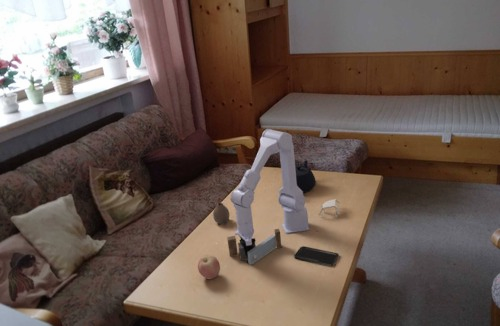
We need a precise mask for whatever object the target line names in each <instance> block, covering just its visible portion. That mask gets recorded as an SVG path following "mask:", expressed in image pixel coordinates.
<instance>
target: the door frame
mask: <svg viewBox="0 0 500 326" xmlns="http://www.w3.org/2000/svg"><path fill="white" fill-rule="evenodd" d="M274 236H275V240H276V249H282V239H281V237H282V236H281V231H280V228H275V229H274ZM226 238H227V246H228V252H229V253H228V254H229V257H234V256H238V255H239V251H238V246H237V244H238V243H237V238H236V235H232V236H227V237H226Z"/></svg>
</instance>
